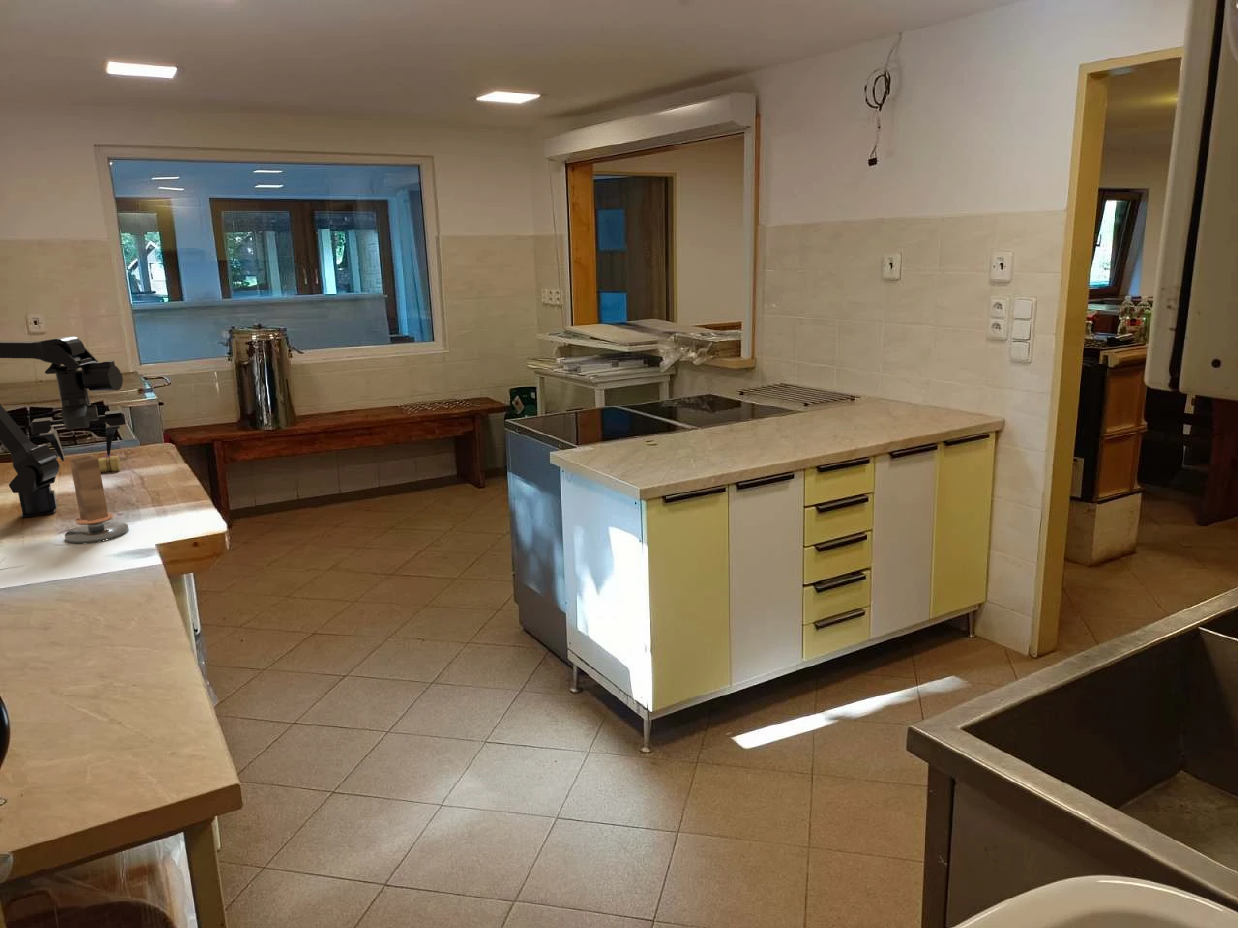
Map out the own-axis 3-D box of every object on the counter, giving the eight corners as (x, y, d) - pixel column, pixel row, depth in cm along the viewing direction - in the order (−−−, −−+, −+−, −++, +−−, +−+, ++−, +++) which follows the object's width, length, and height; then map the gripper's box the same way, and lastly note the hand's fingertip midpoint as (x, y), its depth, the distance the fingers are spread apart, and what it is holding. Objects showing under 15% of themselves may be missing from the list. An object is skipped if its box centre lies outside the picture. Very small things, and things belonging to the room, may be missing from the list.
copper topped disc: (63, 547, 185) (59, 529, 184) (67, 531, 195) (64, 514, 194) (128, 537, 190) (125, 519, 189) (128, 522, 201) (126, 505, 200)
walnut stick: (80, 517, 191) (69, 459, 188) (99, 513, 194) (89, 455, 191) (88, 521, 189) (77, 462, 186) (108, 516, 192) (97, 458, 189)
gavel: (90, 450, 263) (127, 446, 266) (92, 465, 264) (130, 461, 267) (76, 460, 243) (117, 456, 247) (78, 477, 244) (119, 472, 248)
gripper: (21, 401, 192) (35, 471, 196) (118, 392, 200) (130, 459, 204) (27, 394, 202) (40, 461, 206) (120, 386, 210) (131, 450, 214)
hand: (86, 458), depth 207 cm, fingers open, 9 cm apart
